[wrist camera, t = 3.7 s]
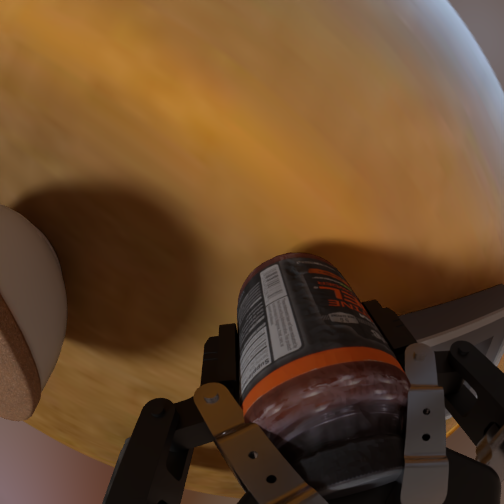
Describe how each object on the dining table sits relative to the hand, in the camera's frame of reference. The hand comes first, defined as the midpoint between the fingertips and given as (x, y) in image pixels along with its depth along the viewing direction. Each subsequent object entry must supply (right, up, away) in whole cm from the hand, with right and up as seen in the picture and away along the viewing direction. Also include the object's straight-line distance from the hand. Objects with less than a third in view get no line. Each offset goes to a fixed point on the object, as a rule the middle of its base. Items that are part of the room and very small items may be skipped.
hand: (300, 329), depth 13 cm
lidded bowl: (-19, +3, +3) cm, 19 cm away
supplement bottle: (0, +1, +3) cm, 3 cm away
